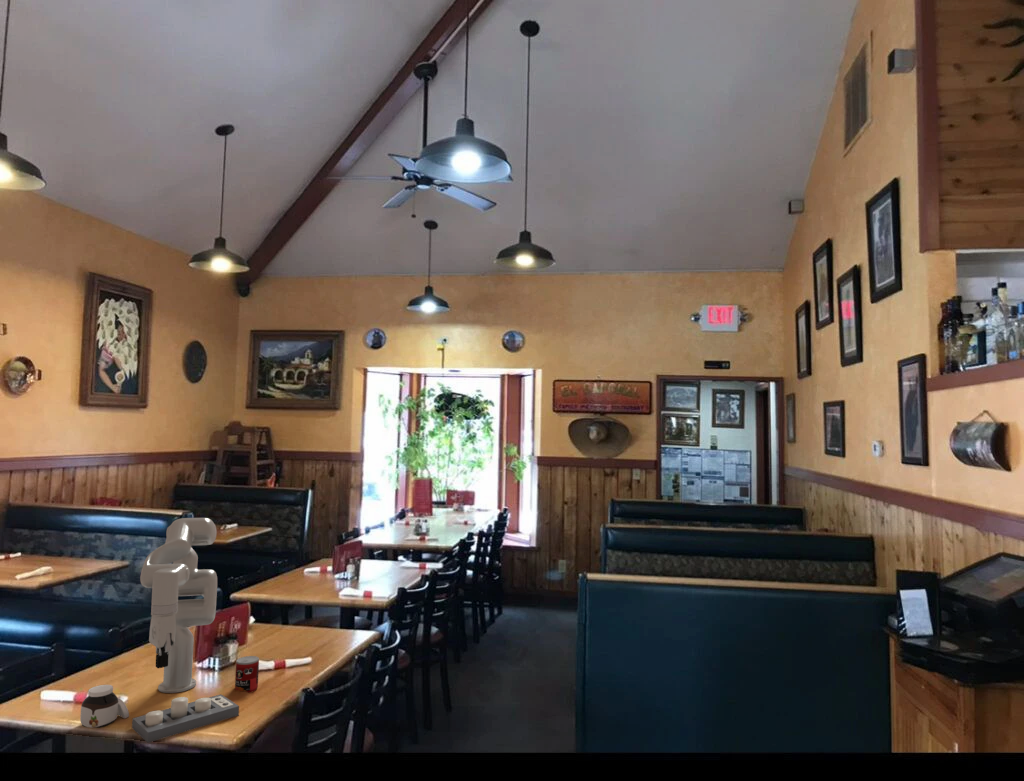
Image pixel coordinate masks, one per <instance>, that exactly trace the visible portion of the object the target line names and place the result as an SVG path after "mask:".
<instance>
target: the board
mask: <svg viewBox="0 0 1024 781" xmlns="http://www.w3.org/2000/svg"><path fill="white" fill-rule="evenodd" d="M208 698H211V709H209V710H206V711H202V712H199V713H196V712H195V701H196V700H195V701H192V702H188V710H187V716H185V717H181V718H178V719H172V718H171V707H170V708H169V707H168V708H166V709H165V708H164V709H162V710H160V711H163V723H160V724H157V725H153V726H150V727H146V726H145V720H146V714H143V715H140V716H137V717H133V718H132V719H131V720H132V721H131V722H132V724H131V729H132V730H134V732H135V733H137V735H139V736H140V737H141V739H143V740H144V741H145V742H146V743H147V744H148V743H151V742H155V741H158V740H162V739H165V738H170V737H172V736H175V735H179V734H182V733H185V732H189V731H191V730H195V729H198V728H201V727H205V726H208V725H212V724H215V723H218V722H222V721H225V720H228V719H231V718H235V717H237V716H239V715H240V714H239V713H240V705H238V704H236V702H234V701H233V700H231V699H229V698H228V697H226V696H224V695H223V694H222V693H221V694H217V695H213V696H209V697H208Z"/></svg>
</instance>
